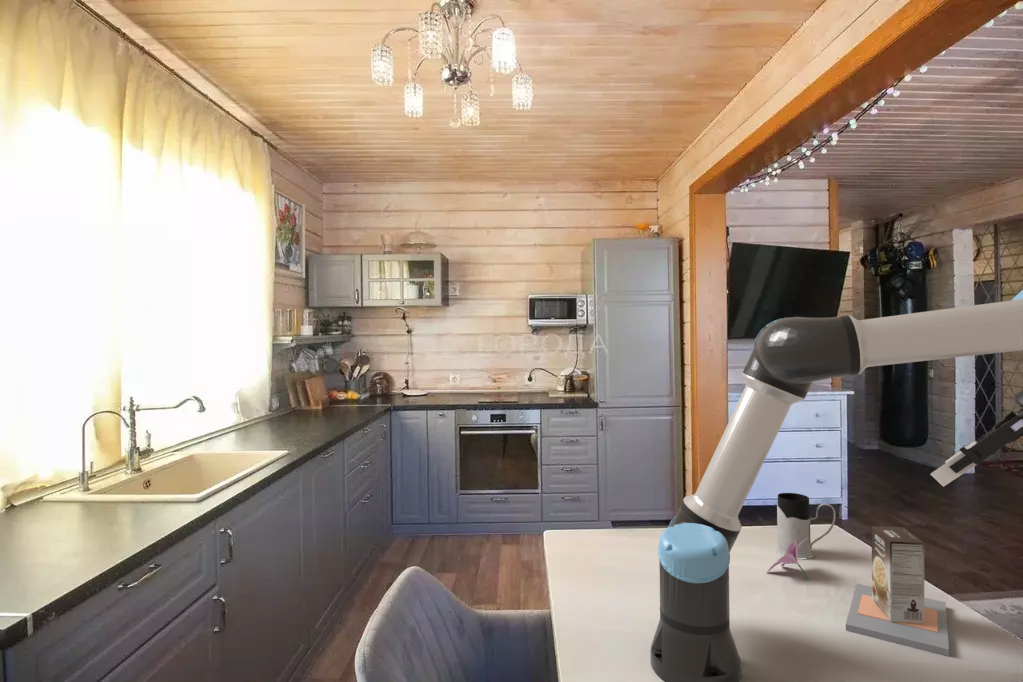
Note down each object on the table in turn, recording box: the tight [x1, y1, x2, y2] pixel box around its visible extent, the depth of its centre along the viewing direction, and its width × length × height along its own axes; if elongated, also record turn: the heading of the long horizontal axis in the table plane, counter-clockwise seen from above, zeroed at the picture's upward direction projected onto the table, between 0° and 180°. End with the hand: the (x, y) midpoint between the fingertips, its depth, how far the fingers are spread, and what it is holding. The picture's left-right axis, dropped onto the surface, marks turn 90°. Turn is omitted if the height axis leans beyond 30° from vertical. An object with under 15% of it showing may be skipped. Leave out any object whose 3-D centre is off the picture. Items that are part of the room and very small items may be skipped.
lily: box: [766, 537, 809, 580], centre depth 136 cm, size 12×12×10 cm
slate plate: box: [845, 583, 950, 657], centre depth 115 cm, size 22×16×1 cm
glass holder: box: [775, 492, 836, 558], centre depth 149 cm, size 9×14×15 cm, turn 70°
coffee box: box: [871, 525, 925, 624], centre depth 115 cm, size 9×6×16 cm
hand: (944, 473), depth 106 cm, fingers open, 13 cm apart
